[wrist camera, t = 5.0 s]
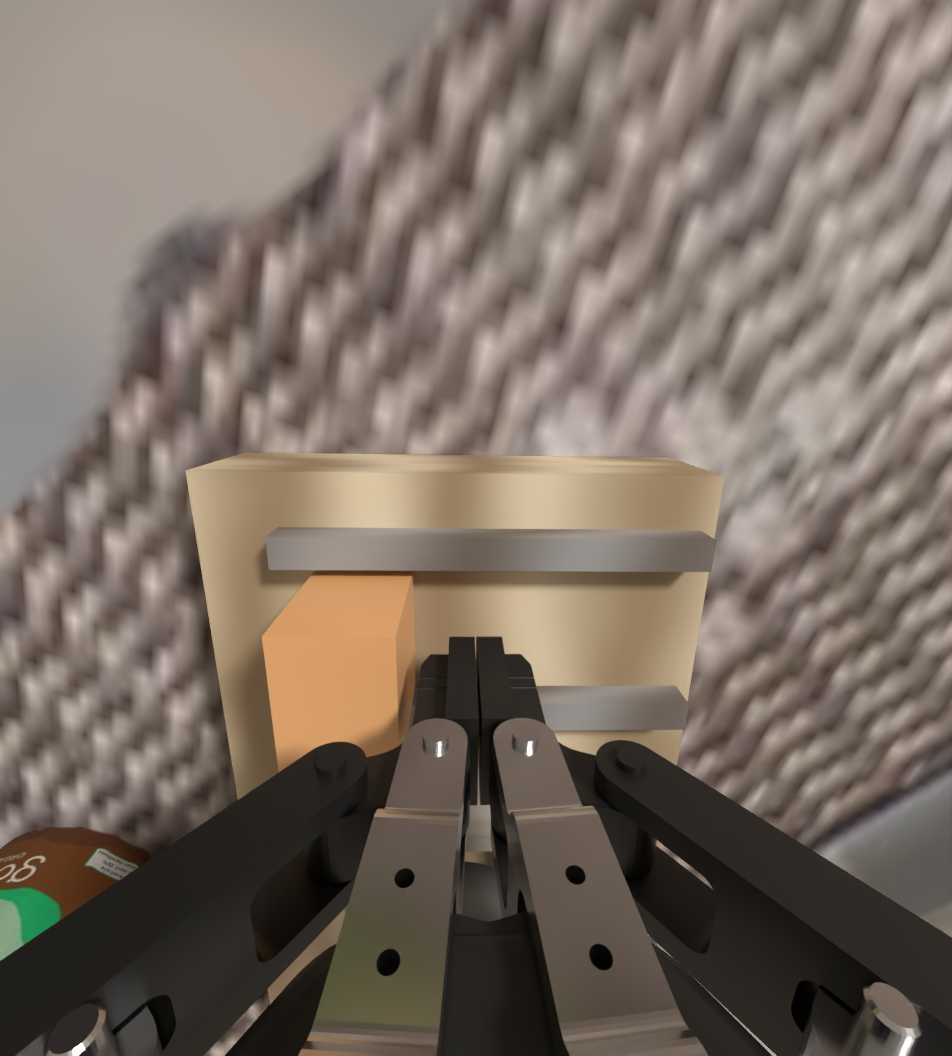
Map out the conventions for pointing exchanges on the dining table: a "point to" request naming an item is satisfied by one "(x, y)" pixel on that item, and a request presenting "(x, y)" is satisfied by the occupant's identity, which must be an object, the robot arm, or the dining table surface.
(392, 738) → the slider knob
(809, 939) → the robot arm
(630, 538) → the board
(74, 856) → the food container
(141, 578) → the dining table surface
